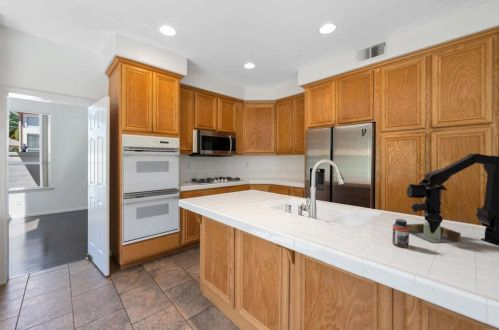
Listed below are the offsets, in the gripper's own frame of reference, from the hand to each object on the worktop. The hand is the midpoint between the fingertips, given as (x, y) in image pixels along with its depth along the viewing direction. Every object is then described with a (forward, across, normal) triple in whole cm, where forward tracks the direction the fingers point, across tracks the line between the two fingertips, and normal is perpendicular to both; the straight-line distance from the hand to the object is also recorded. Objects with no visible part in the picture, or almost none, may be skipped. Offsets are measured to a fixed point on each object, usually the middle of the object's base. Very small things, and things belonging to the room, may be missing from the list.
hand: (431, 230), depth 106 cm
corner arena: (+3, -1, 0) cm, 3 cm away
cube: (+3, 0, 0) cm, 3 cm away
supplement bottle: (+3, +21, -11) cm, 24 cm away
